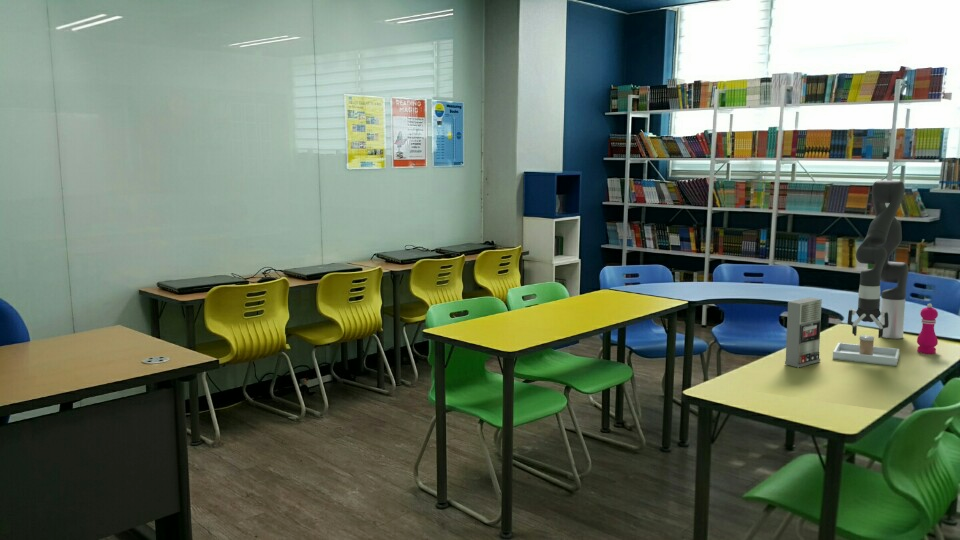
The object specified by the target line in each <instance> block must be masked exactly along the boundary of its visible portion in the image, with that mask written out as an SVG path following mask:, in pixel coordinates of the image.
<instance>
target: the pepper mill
mask: <svg viewBox="0 0 960 540" xmlns="http://www.w3.org/2000/svg"><path fill="white" fill-rule="evenodd" d="M938 316H939V312H938V310H937V309H936V308H933V305H932V303H927V306H926V307H923V308H922V309H921V310H920V317H921V323H922V325H921V331H920V332H919V334H918V336H917V339H916V343H917V345H918V346H917V352H918V353H920V354H926V355H934V354H936V352H937V348H936V347H937V345H938V344H939V343H938V341H939V339H938V337H937V335H936V332H935V325H936V323H937V322H936V321H937V320H936V319H937V318H938Z"/></svg>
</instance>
